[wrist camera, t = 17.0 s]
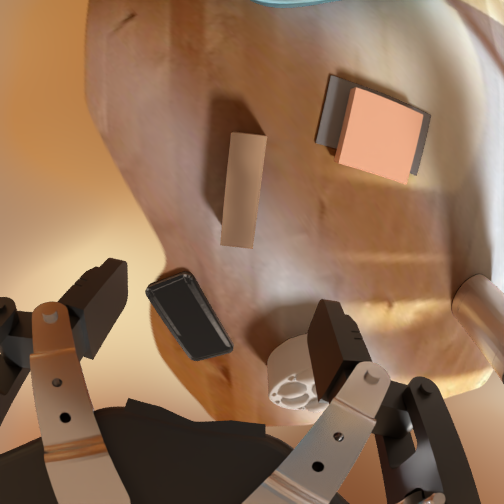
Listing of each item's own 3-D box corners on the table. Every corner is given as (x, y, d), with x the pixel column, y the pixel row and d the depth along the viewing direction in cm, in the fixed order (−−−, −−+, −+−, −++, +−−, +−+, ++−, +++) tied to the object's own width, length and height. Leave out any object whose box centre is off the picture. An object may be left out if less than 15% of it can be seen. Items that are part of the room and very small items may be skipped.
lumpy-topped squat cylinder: (347, 367, 46) (358, 405, 38) (275, 384, 48) (277, 424, 40) (342, 324, 42) (356, 364, 34) (259, 344, 44) (259, 386, 36)
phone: (189, 271, 38) (235, 351, 43) (190, 267, 39) (236, 346, 44) (141, 289, 39) (191, 362, 45) (144, 285, 40) (192, 357, 46)
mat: (429, 115, 29) (431, 115, 29) (415, 175, 32) (416, 175, 32) (330, 75, 28) (331, 75, 28) (315, 142, 31) (315, 142, 31)
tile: (398, 180, 32) (414, 114, 29) (406, 184, 30) (423, 114, 27) (333, 160, 32) (349, 89, 28) (338, 163, 30) (356, 87, 26)
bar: (265, 135, 31) (267, 136, 27) (253, 232, 36) (252, 248, 32) (234, 131, 31) (231, 132, 27) (224, 229, 36) (220, 245, 32)
